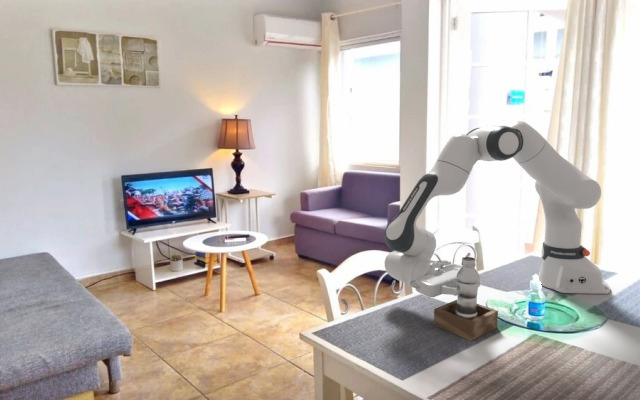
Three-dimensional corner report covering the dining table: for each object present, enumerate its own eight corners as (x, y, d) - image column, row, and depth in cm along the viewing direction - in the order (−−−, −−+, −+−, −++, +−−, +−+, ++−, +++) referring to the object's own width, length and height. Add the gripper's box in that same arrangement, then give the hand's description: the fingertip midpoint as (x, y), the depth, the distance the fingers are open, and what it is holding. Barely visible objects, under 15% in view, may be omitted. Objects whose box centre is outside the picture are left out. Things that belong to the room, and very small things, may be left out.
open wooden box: (460, 313, 150) (460, 298, 149) (497, 327, 141) (498, 310, 140) (433, 325, 143) (434, 308, 142) (471, 340, 133) (471, 323, 132)
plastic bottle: (475, 321, 145) (478, 255, 141) (479, 331, 138) (483, 262, 135) (452, 320, 146) (454, 254, 142) (456, 331, 139) (458, 262, 135)
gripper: (406, 273, 143) (445, 286, 132) (450, 258, 155) (489, 269, 145) (405, 294, 144) (444, 308, 133) (449, 278, 157) (488, 290, 146)
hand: (468, 288), depth 139 cm, fingers open, 8 cm apart
